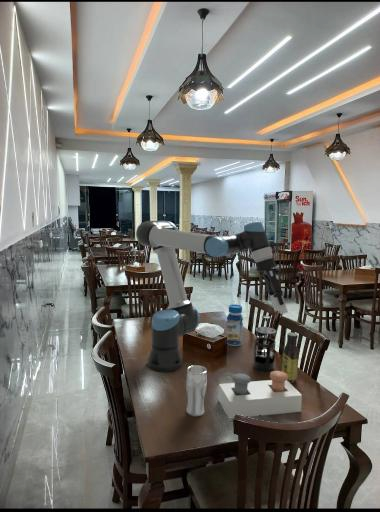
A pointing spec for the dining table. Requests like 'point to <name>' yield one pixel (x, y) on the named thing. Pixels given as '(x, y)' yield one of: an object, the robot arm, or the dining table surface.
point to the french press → (261, 353)
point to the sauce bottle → (290, 357)
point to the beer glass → (196, 389)
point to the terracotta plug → (278, 380)
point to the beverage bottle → (234, 325)
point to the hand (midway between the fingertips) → (281, 311)
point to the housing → (259, 399)
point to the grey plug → (241, 384)
